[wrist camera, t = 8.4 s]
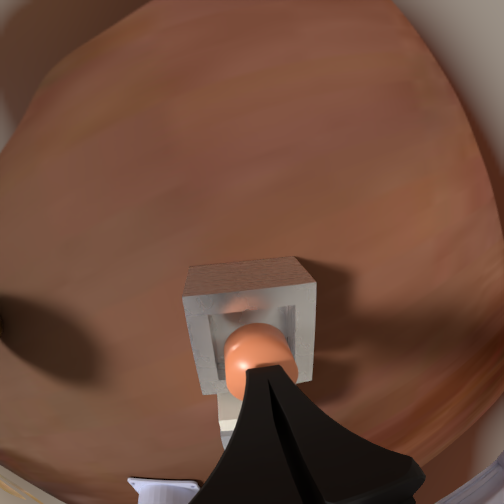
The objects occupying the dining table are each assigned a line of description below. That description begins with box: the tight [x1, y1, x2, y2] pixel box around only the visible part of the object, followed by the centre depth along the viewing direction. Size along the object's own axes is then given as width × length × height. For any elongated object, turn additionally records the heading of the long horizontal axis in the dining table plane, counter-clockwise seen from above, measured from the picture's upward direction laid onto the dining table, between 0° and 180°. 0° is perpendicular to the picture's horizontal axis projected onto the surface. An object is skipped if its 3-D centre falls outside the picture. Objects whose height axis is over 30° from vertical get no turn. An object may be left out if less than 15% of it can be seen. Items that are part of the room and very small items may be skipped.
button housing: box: [182, 256, 316, 395], centre depth 15 cm, size 6×6×4 cm
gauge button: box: [224, 323, 298, 401], centre depth 12 cm, size 3×3×2 cm
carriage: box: [217, 393, 243, 451], centre depth 16 cm, size 4×5×6 cm
